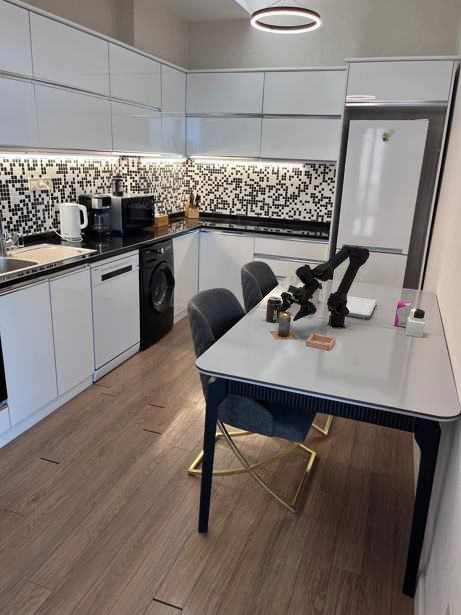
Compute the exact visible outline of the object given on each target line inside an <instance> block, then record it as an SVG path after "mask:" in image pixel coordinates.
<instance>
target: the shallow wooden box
mask: <svg viewBox="0 0 461 615" xmlns="http://www.w3.org/2000/svg"><path fill="white" fill-rule="evenodd" d="M336 339H337V338H336V337H333V336H332V337H331V336H327V335H322V334H317V333H311V335H310V336H309V337H308V338H307V339H306V340H305V347H308V348H312V349H313V348H314V349H319V350H323V351H326V352H330V351H331V349H332V348H333V347H334V345H335V344H336ZM318 341H319V342H318ZM322 342H324V343H322ZM326 343H328V344H326Z"/></svg>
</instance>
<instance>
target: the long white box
mask: <svg viewBox="0 0 461 615" xmlns="http://www.w3.org/2000/svg"><path fill="white" fill-rule="evenodd" d="M303 286H304V284H303V283H302V282H301V281H300V282H299V283H298V284H297V285H296V286H295V287H297V288H299V287H303ZM320 291H321V289H317V290H316V291H315V293H314V294H313V295H312V296H313V298H312V299H309V300H308V301H310V302H312V303H313V304H314V305H315V307H316V306H317V305H318V303H319V301H320V299H319V298H320V294H321V293H320ZM289 294H290V295H291V296H292V293H290V292H289ZM292 297H293V296H292ZM293 298H294V297H293ZM300 307H301V306H300V305H298V304H295V303H293V304H292V305H291V307H290V308H289V309H288V310H286V312H290V313H291V317H295V316H296V314H297V313H298V311H299V310H300ZM310 316H311V315H308V316H305V317H303V318H304V319H309V318H310ZM303 318H302V319H303Z"/></svg>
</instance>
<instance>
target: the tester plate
mask: <svg viewBox="0 0 461 615" xmlns="http://www.w3.org/2000/svg"><path fill="white" fill-rule="evenodd" d="M269 333H271V335H272V337H273V338H274V340H275V341H277V340H281V341H282V340H298V338H297V336H296V335H295V333H293V331H292V330H290V333H289V337H280V336H278V330H269Z"/></svg>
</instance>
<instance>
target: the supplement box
mask: <svg viewBox="0 0 461 615" xmlns="http://www.w3.org/2000/svg"><path fill="white" fill-rule="evenodd" d="M411 304H412V303H411V302H407V301H398V302H397V304H396V312H395V317H394V324H393V327H400V328H403V329H406V324H407V319H408V317H410V312H411V310H410V309H411Z"/></svg>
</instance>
